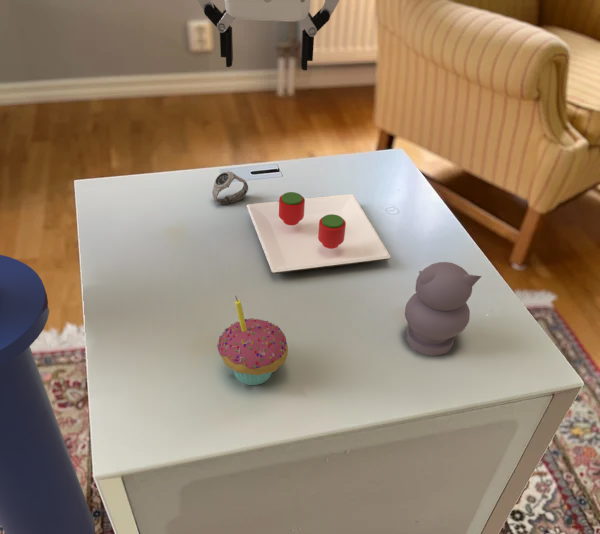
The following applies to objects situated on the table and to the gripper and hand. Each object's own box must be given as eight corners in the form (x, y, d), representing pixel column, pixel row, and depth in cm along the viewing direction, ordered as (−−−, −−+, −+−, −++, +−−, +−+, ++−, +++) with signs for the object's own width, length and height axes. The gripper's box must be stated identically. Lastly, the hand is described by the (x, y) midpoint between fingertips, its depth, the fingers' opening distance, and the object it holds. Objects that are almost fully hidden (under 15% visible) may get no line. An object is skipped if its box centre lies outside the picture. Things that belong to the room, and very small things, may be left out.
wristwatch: (210, 199, 109) (208, 172, 105) (243, 192, 111) (242, 165, 107) (218, 209, 107) (217, 182, 103) (251, 202, 109) (251, 174, 105)
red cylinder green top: (318, 251, 97) (320, 227, 93) (317, 236, 99) (318, 212, 96) (344, 252, 97) (347, 228, 94) (342, 237, 99) (345, 213, 96)
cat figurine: (456, 322, 90) (478, 251, 81) (465, 361, 85) (489, 289, 76) (397, 318, 90) (412, 247, 81) (401, 357, 85) (418, 285, 76)
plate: (352, 203, 110) (353, 192, 109) (389, 267, 98) (391, 256, 97) (246, 214, 106) (246, 203, 105) (271, 282, 94) (272, 271, 93)
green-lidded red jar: (286, 230, 100) (287, 206, 97) (274, 218, 102) (274, 194, 99) (308, 224, 101) (309, 200, 98) (295, 211, 104) (296, 188, 100)
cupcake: (213, 390, 79) (207, 317, 70) (227, 344, 85) (224, 271, 76) (281, 400, 79) (284, 327, 70) (291, 353, 84) (295, 280, 76)
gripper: (185, -98, 67) (197, 73, 79) (349, -89, 67) (335, 79, 80) (191, -113, 72) (201, 51, 84) (344, -104, 72) (331, 56, 85)
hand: (266, 64), depth 82 cm, fingers open, 9 cm apart
